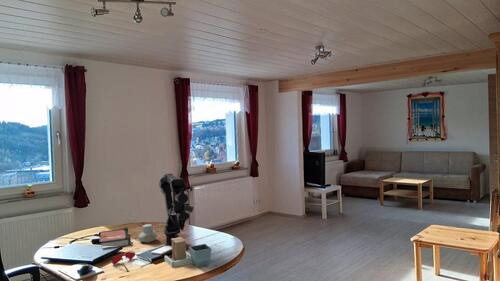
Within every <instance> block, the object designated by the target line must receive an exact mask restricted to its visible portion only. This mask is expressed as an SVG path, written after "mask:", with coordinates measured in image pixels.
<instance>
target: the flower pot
mask: <svg viewBox="0 0 500 281" xmlns="http://www.w3.org/2000/svg"><path fill="white" fill-rule="evenodd" d="M188 248H189V254H190V255H191V258H192V261H193V262H194V263H193V264H194V265H195V266H196V268H200V267H205V266H208V264H210V262H211V257H212V256H211V255H212V248H211V247H210V246H209V245H207V243H202V244H198V245H191V246H189V247H188Z"/></svg>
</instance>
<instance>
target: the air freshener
mask: <svg viewBox="0 0 500 281" xmlns="http://www.w3.org/2000/svg"><path fill="white" fill-rule="evenodd" d="M153 229H154V228H153V225H152V224H149V223H148V224H147V223H146V224H144V225H142V232H141V233H140V234H139V235H138V239H139V241H140V242H141V243H146V244H147V243H152V242H154V241H155V240H157V237H158V235H157V232H155V231H154V230H153Z"/></svg>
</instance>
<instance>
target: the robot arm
mask: <svg viewBox="0 0 500 281" xmlns="http://www.w3.org/2000/svg"><path fill="white" fill-rule="evenodd" d="M158 183H159V184H158V187H159V188H160V192H161V193H162V194H163V196H164V203H165V210H166V221H165V225H164V229H163V233H164V235H165V236H166V237H165V238H166V239H165V240H166V243H165V246H172V240H171V239H173V238H179V237H180V236H179V234H181V231H184V229H185V224H186V221H187V220H189V219H190V218H191V217H190V213H193V211H194V206H192V205H190V204H189V202H188V201H189V197H188V194H186V193H185V192H186V191H187V184H186V182H185V180H184V179H183V177H177V176H175V175H174V174H173V173H165V174H164V175H163V176H162V177H161V179H160V180H159V182H158Z"/></svg>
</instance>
